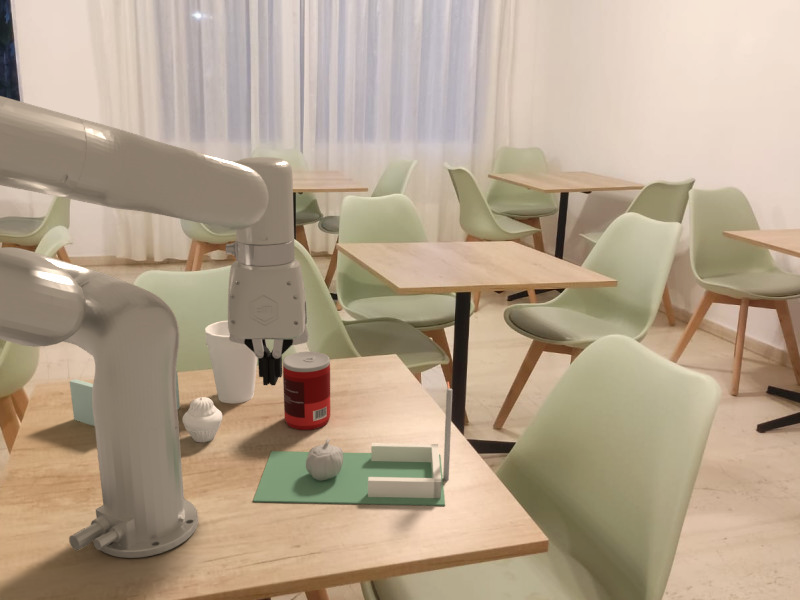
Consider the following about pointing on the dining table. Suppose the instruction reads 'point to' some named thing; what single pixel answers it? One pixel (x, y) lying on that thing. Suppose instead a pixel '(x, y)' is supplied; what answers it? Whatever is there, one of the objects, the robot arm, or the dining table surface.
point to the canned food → (306, 390)
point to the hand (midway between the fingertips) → (271, 381)
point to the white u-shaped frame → (412, 454)
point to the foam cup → (230, 365)
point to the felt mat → (337, 480)
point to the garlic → (324, 461)
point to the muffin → (202, 419)
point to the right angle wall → (83, 400)
